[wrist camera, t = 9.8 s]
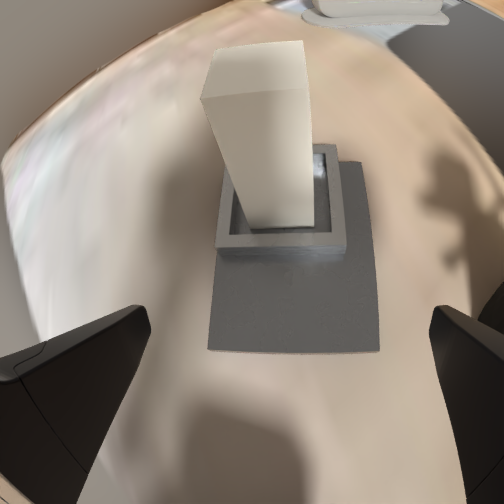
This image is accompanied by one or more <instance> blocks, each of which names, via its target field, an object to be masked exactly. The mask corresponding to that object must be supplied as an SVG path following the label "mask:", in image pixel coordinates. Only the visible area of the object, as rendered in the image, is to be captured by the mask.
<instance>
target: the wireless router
mask: <svg viewBox="0 0 504 504" xmlns="http://www.w3.org/2000/svg"><path fill="white" fill-rule="evenodd" d="M312 3H313V5H314V8H310V9H307V10H305V11H304V12H303V13H302V18H303V20H304V21H305V22H306V23H308V24H311V25H314V26H319V27H323V28H348V27H358V26H371V25H391V24H422V25H448V23H449V19H448V17H447V16H446V15H444V14H443V13H441V12H440V9H441V7H442V3H443V0H312Z"/></svg>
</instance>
